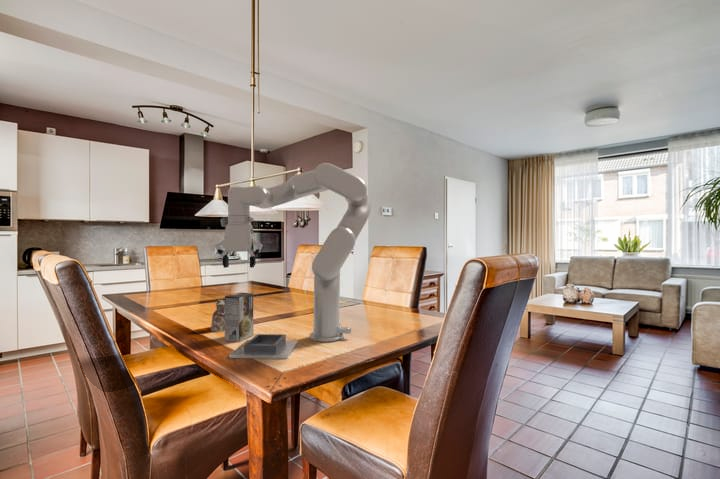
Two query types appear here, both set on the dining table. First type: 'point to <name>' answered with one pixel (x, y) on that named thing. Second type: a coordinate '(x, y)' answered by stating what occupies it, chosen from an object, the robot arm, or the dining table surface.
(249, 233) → the robot arm
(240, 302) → the coffee box
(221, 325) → the figurine
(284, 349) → the locating jig
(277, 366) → the dining table surface
